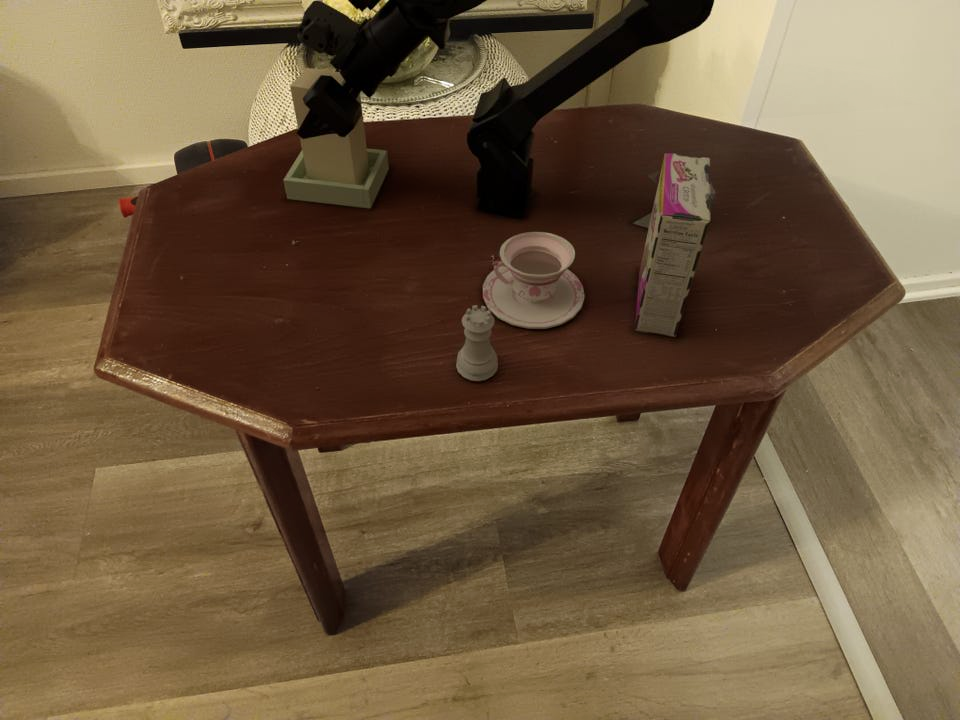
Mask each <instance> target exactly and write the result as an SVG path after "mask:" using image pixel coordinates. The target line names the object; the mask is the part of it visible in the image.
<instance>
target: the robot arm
mask: <svg viewBox="0 0 960 720" xmlns="http://www.w3.org/2000/svg"><path fill="white" fill-rule="evenodd" d="M347 1H348V2H349V3H350V4H351V5H352V6H353V7H354V9H355V10H357V11H358V10H359V11H360V12H362V13H363V12H364V11H365V10H367V9H368V10H369V11H372V10H373V9H375V7H376V6H377V5H378V4H380V2H381V1H382V0H347ZM487 1H488V0H387V1H386V2H385V3H384V4H383V5H382V6H381V7H380V8H379V10H378V11H377V12H376V13H375V14H374V15H373V16H372V17H371V16H370V17H369V18H367V17H365V18H364V19H363V20H362V22H360V23H358V22H356V21H355V20H353V19H352V18H350V17H349V16H348V15H346V14H345V13H343V12H341V11H339V10H338V9H336V8H334V7H333V6H331V5H329V4H327V3H325V2H323V1H321V0H313V1H312V2H311V3H310V4H309V6H308V7H307V8H306V9H305V10H304V11H303V14H302V19H301V23H300V24H299V25H298V26H297V28H296V31H297V39H298V40H299V41H300V42H301V44H302V45H303V46H305V47H307V48H309V49H311V50H312V51H314V52H316V53H318V54H326V55H328V56H331V57H332V58H331V59H330V61H329V64H330V65H332V67H333V68H334V69H335V71H334V72H340V74H341V76H342V77H343V79H344V81H343V82H342V84H340V83H339V82H338V81H337V80H336V79H334V78H333V77H332V76H326V75H321V76H320V77H319V78H318V79H317V80H316V81H315V82H314V83H313V85H312V86H311V87H310V88H309V90H308V91H307V93H306V94H305V96H304V97H303V101H304V104H305V105H306V106H307V107H308V108H309V112H308V114H307V115H306V117H305V119H304V121H303V122H302V124H301V126H300V128H299V130H298V129H297V131H296V134H297V136H299V138H300V137H301V138H302V139H307V138H312V137H317V136H322V135H328V134H337V135H338V136H339V137H346V136H347V135H348V134H349V133H350V132H351V131H352V130H353V129H354V128H355V126H356V124H357V122H358V120H359V119H360V117H361V115H362V113H363V109H362V110H361V105H362V103H361V104H360V103H359V102H358V101H357V100H356V99H357V97H358V96H359V94H360V95H361V92H362V93H363V94H364V95H365V96H366V97H367V98H368V99H371V97H373V96H374V95H375V93H376V91H377V90H378V88H379V86H380V85H381V84H382V83H383V82H384V81H385V80H386V79H387V78H388V77H390V78H392V77H393V76H395V75H396V73H397V72H398V70H399V68H400V66H401V65H402V63H403V62H404V61H406V59H408V58H409V57H410V55H412V54H413V53H414V52H415V51H416V50H417V49H418V48H419V47H420V46H421V45H422V44H423V43H424V42H425V41H426V40H427V39H428V38H429V39H430V40H431V41H432V42H433V43H434V45H435V46H437V48H438V49H439V50H444V49H445V47H446V45H447V43H448V41H449V38H450V36H451V30H450V22H451V18H454V17H456V16H459V15H461V14H464V13H466V12H468V11H471V10H473V9H476V8H477V7H479V6H480V5H482V4H483V3H485V2H487ZM714 4H715V0H629V2H627V4H626V5H625V7H623V9H622V10H620V11H619V12H618V13H616V14H615V15H614V16H612V17H611V18H610V19H608V20H607V21H606V22H604V23H603V24H602V25H600V26H599V27H598V28H596V29H595V30H594V31H592V32H591V33H589V34H588V35H587V36H586V37H584V38H583V39H582V40H580V41H579V42H578V43H576V44H575V45H574V46H572V47H571V48H570V49H568V50H567V51H565V52H564V53H563V54H561V55H560V56H559V57H558V58H556V59H555V60H554V61H552V62H551V63H549V64H548V65H547V66H545V67H544V68H543V69H542V70H540V71H538V73H536V74H535V75H533V76H532V77H531V78H530V79H528V80H527V81H525V82H523V83H520V84H515V85H511V84H510V83H509V81H508V79H507V78H506V77H502V78H501V79H500V80H499V81H498V82H497V83H496V84H495V85H494V87H492V88H491V89H489V90H488V91H483V92H481V93H480V96H479V99H478V102H477V105H476V107H475V110H474V113H473V115H472V118H471V122H470V124H469V129H468V131H467V133H466V143H467V148H468V149H469V151H470V152H471V154H472V155H474V156H475V157H476V158H477V160H478V162H479V165H480V166H479V167H478V169H477V171H476V198H477V199H478V202H477V204H476V210H477V211H479V212H485V213H491V214H494V215H495V214H496V215H501V216H504V217H505V216H506V217H511V218H516V219H524V217H525V215H526V213H527V210H528V208H529V206H530V203H531V201H532V199H533V196H534V195H535V189H534V188H533V187H532V186H533V173H534V162H535V160H534V158H532V157H531V153H532V148H533V143H534V138H535V131H534V130H533V129H534V127H535V126H536V125H537V123H538V122H539V121H540V120H541V119H542V118H543V117H546V115H548V114H549V113H551V112H552V111H554V110H555V109H556V108H558V107H559V106H561V105H563V104H564V103H565V102H566V101H568V100H569V99H571V98H572V97H574V96H575V95H576V94H579V92H581V91H582V90H584V89H585V88H586V87H588V86H589V85H591V84H592V83H594V82H595V81H597V80H598V79H600V78H601V77H602V76H604V75H605V74H607V73H608V72H609V71H611V70H612V69H613V68H615V67H616V66H619V64H621V63H622V62H624V61H625V60H627V59H628V58H630V57H631V56H633V55H634V54H635V53H636V52H638V51H639V50H641V49H644V48H646V47H647V48H648V47H651V46H655V45H661V44H664V43H669V42H671V41H673V40H675V39H677V38H680V37H681V36H683V35H685V34H687V33H690V32H692V31H694V30H696V29H697V28H699V27H700V26H702V25H703V24H704V23H705V22H706V21H707V20H708V19H709V17H710V16H711V14H712V11H713V7H714ZM351 89H352V90H351ZM350 90H351V91H350ZM349 92H350V93H349Z"/></svg>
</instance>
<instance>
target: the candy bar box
mask: <svg viewBox="0 0 960 720" xmlns="http://www.w3.org/2000/svg"><path fill="white" fill-rule="evenodd" d="M710 182H711V159H710V157H704V156H698V157H697V156H693V155H687V154H681V155H680V154H679V153H669V152H667V153H664V156H663V160H662V164H661V169H660V175H659V179H658V182H657V183H658V184H657V188H656V192H655V198H654V202H653V206H652V211H651V213H652V216H651V220H650V225H649V228H647V229H648V230H647V234H646V240H645V244H644V249H643V253H642V258H641V262H640V267H639V273H638V283H637V296H636V307H635V321H634V323H635V324H634V331H635V332H639V333H644V334H652V335H657V336H658V335H659V336H665V337H671V338H676V337H677V335H678V334H677V333H678V330H679V327H680V324H681V320H682V318H683V313H684V311H685V307H686V304H687V300H688V297H689V293H690V290H691V287H692V283H693V279H694V276H695V273H696V269H697V266H698V263H699V260H700V257H701V253H702V249H703V245H704V243H705V238H706V235H707V232H708V228H709V227H710V226H709V225H710V222H711V205H710Z"/></svg>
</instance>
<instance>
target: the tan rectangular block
mask: <svg viewBox="0 0 960 720" xmlns="http://www.w3.org/2000/svg"><path fill="white" fill-rule="evenodd" d="M321 75H326V76H332V77H333V78H334V79H336V80H337V81H338V82H339V83H340V84H342V82H343V81H344V79H343V77H342V76H341V74H340V72H335V71H334V70H325V69H318V68H311V67H306V68H304V69H303V71H302V72H301V73H300V74H299V75H298V76H297V77H296V78H295V79H294V81H292V83H290V85H289V88H290V94H291V98H292V103H293V104H292V105H293V109H294V114H295V121H296V125H297V131H298V130H299V128H300V126H301V124H302V122H303V121H304V119H305V117H306V115H307V114H308V112H309V108H308V107H307V106H306V105H305V104H304V101H303V97H304V96H305V94H306V93H307V91H308V90H309V88H310V87H311V86H312V85H313V83H314V82H315V81H316V80H317V79H318V78H319V77H320V76H321ZM351 90H352V89H351ZM351 90H350V91H351ZM349 93H350V92H349ZM356 100H357V101H358V102H359V103H360V104H361V110H362V111H363V106H362V97H361V93H360V94H359V96H358V97H357V99H356ZM366 139H367V138H366V132H365V122H364V115H363V112H362V115H361V117H360V119H359V120H358V122H357V124H356V126H355V128H354V129H353V130H352V131H351V132H350V133H349V134H348V135H347V136H346V137H339V136H338V135H337V134H328V135H322V136H317V137H312V138H307V139H302V138H301V137H300V136H299V140H300V145H301V151H303V156H304V162H305V167H306V172H307V177H308V179H309V180H318V181H327V182H336V183H345V184H354V185H361V184H362V182H363V180H364V179H365V177H366V176H367V174H368V173H369V164H368V155H367V149H368V147H367V140H366Z"/></svg>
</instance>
